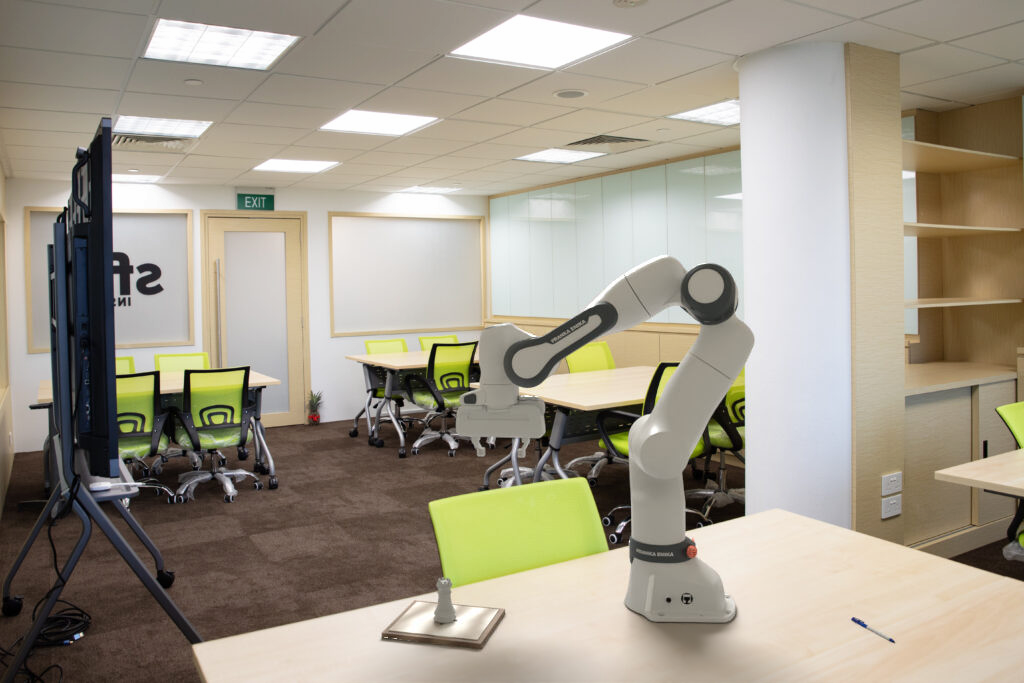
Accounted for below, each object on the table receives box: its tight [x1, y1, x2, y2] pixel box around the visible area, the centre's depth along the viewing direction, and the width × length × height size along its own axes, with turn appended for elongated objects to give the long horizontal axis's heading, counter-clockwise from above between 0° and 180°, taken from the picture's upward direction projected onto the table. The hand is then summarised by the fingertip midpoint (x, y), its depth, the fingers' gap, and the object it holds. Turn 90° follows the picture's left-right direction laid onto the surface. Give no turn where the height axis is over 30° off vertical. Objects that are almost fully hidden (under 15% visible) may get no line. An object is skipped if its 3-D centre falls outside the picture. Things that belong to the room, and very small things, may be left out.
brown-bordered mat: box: [381, 599, 506, 650], centre depth 150 cm, size 20×16×1 cm
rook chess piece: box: [434, 577, 456, 624], centre depth 150 cm, size 4×4×8 cm
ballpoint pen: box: [850, 616, 896, 643], centre depth 144 cm, size 10×1×1 cm, turn 19°
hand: (501, 456), depth 171 cm, fingers open, 8 cm apart
